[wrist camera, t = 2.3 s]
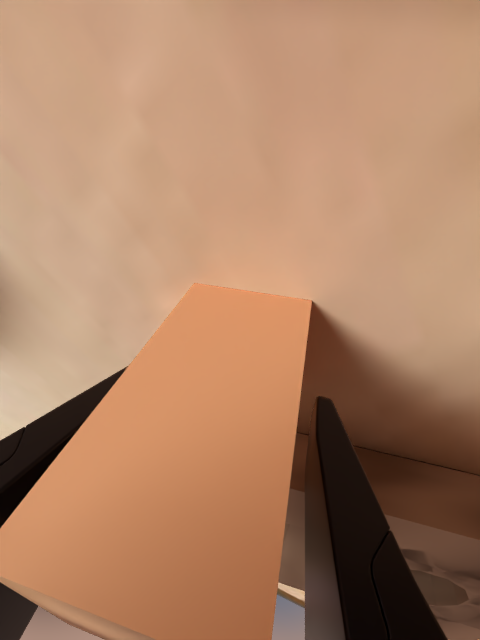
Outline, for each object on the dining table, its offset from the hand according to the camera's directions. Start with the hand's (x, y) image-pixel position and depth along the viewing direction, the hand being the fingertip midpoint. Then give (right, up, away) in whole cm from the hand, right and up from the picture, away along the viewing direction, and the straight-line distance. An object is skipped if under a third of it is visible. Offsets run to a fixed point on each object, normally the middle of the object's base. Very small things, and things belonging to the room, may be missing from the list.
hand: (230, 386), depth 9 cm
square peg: (+1, +1, +2) cm, 2 cm away
